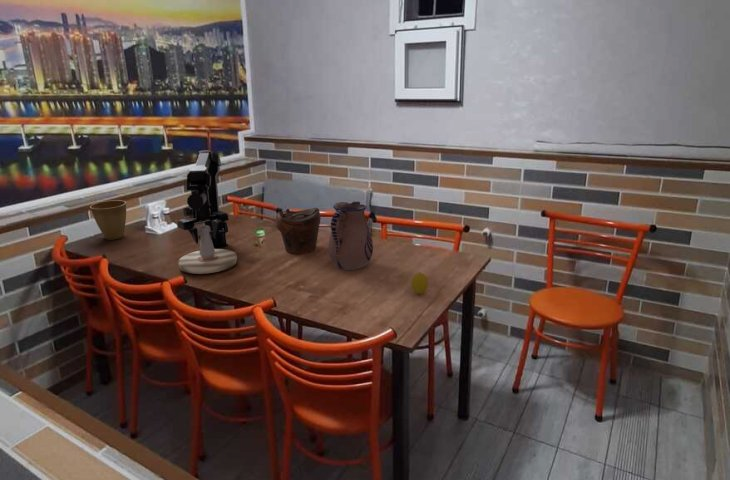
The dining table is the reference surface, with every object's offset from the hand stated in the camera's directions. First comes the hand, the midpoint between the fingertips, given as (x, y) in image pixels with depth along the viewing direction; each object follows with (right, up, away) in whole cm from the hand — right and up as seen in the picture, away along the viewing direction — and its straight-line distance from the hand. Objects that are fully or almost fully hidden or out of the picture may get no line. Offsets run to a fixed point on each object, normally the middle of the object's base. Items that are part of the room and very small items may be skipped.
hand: (206, 241), depth 195 cm
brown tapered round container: (+34, -4, +21) cm, 40 cm away
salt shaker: (0, -7, +2) cm, 7 cm away
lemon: (+81, -18, -24) cm, 86 cm away
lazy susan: (0, -9, +3) cm, 9 cm away
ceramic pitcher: (+56, -11, 0) cm, 57 cm away
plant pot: (-55, +2, +38) cm, 67 cm away
